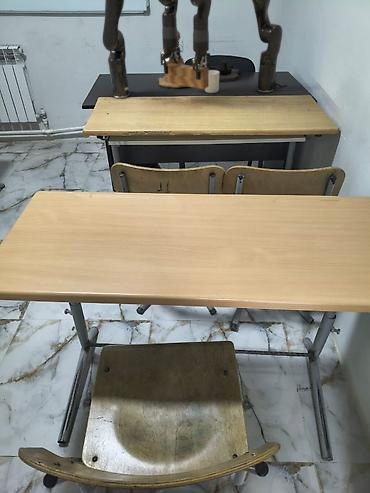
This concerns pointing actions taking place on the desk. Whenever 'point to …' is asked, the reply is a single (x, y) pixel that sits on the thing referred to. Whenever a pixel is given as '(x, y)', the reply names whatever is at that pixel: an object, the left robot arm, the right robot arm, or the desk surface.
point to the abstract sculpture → (226, 71)
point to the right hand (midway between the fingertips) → (201, 77)
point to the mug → (213, 82)
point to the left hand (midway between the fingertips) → (171, 71)
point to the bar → (187, 76)
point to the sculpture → (162, 80)
